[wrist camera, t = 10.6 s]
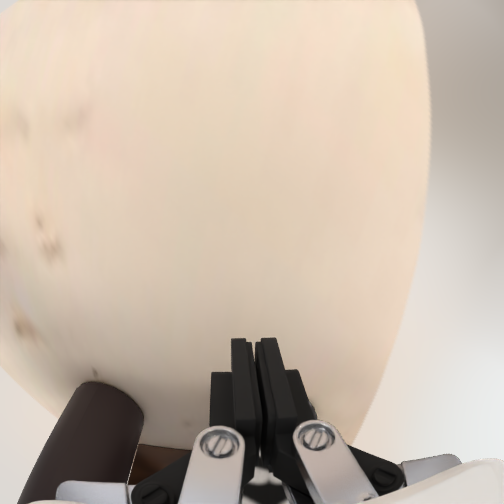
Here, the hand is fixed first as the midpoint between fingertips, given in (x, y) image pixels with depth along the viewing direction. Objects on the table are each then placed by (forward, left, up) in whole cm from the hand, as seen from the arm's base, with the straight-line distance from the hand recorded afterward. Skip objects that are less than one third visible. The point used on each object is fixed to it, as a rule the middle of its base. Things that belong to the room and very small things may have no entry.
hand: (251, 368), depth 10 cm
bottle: (-12, -12, -8) cm, 19 cm away
